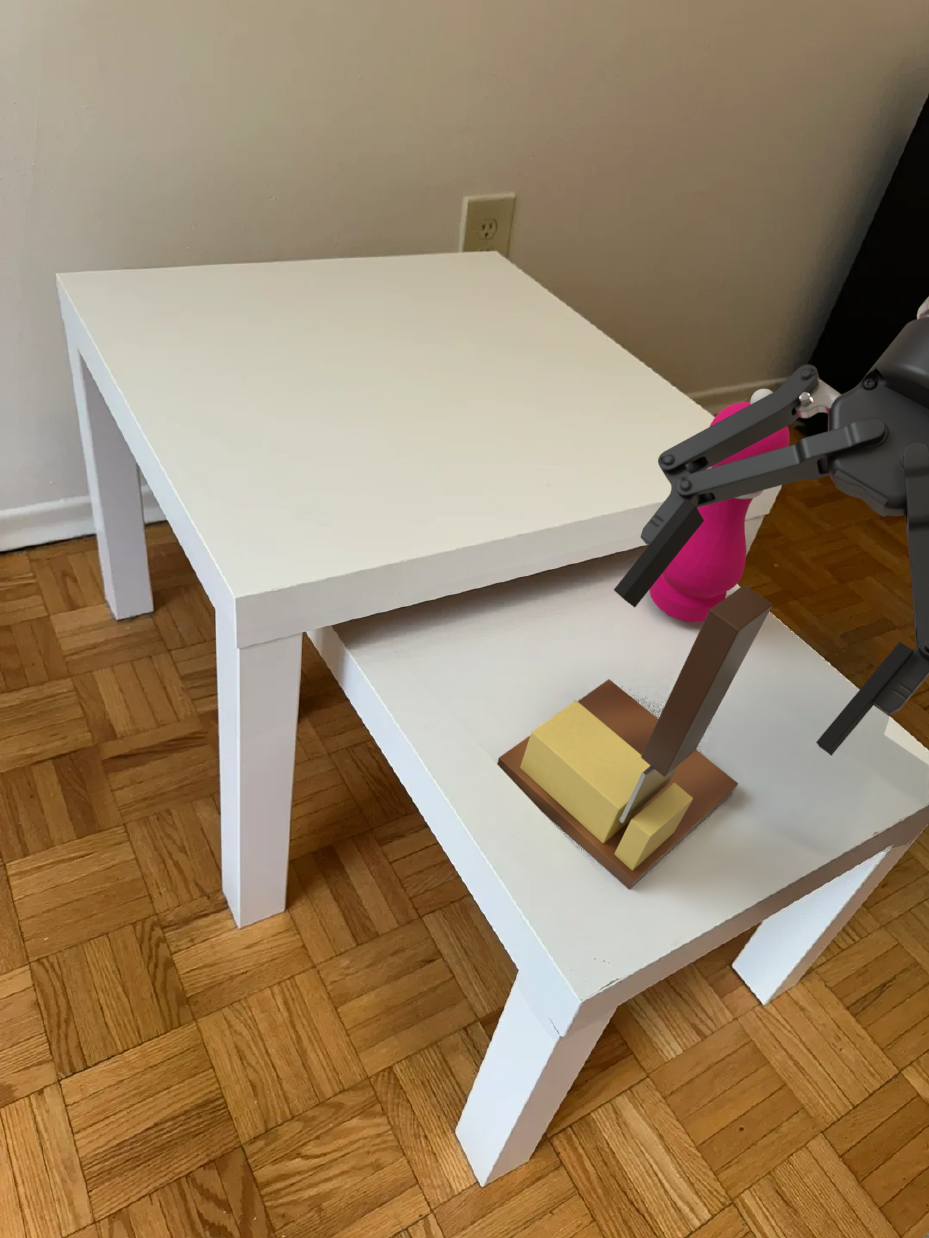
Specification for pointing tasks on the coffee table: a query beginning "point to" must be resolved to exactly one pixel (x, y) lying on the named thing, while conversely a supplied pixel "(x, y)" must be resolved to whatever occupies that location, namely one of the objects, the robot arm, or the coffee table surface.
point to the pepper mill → (713, 542)
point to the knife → (699, 690)
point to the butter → (600, 782)
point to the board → (690, 775)
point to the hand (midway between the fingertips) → (717, 670)
